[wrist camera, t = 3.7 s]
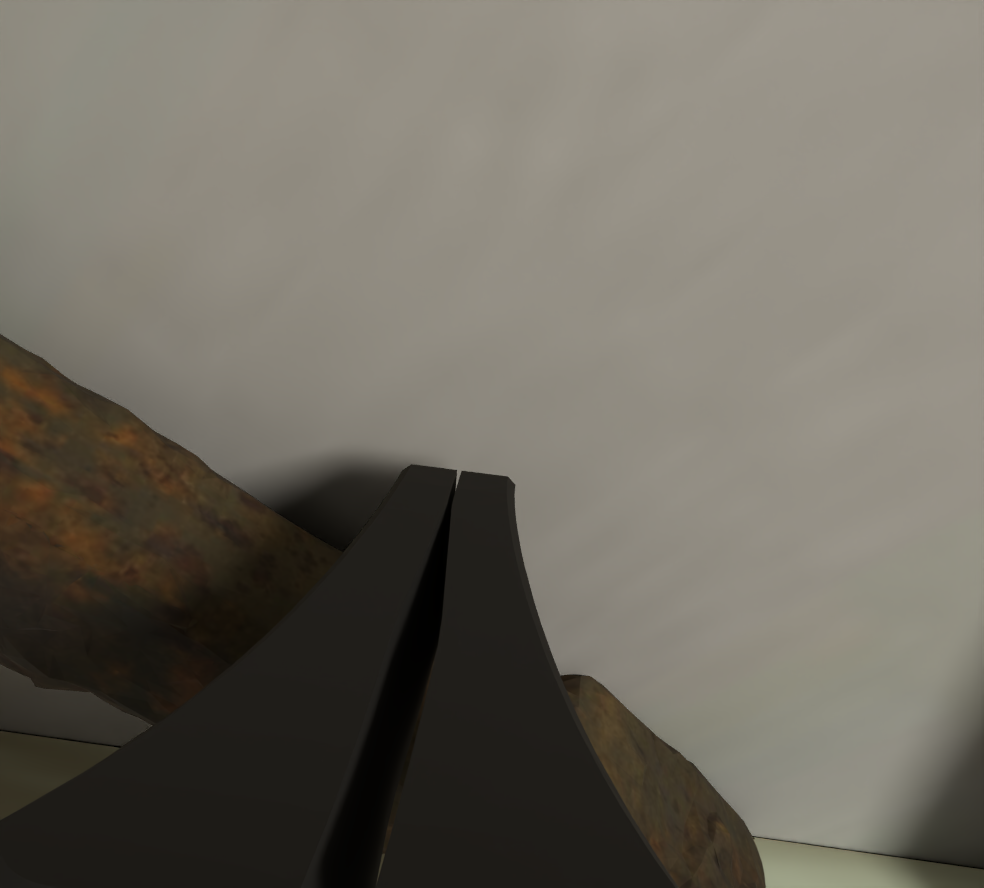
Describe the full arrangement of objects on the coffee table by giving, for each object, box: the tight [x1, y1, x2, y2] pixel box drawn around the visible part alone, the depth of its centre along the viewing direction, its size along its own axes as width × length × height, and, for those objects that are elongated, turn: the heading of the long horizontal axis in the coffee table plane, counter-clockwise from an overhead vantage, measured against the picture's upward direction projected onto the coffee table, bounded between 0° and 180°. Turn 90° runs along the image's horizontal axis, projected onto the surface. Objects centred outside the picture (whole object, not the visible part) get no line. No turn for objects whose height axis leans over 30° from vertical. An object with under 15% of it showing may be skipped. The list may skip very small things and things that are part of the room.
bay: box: [0, 731, 984, 888], centre depth 13 cm, size 18×25×3 cm
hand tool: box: [0, 334, 766, 888], centre depth 14 cm, size 19×4×5 cm, turn 49°
